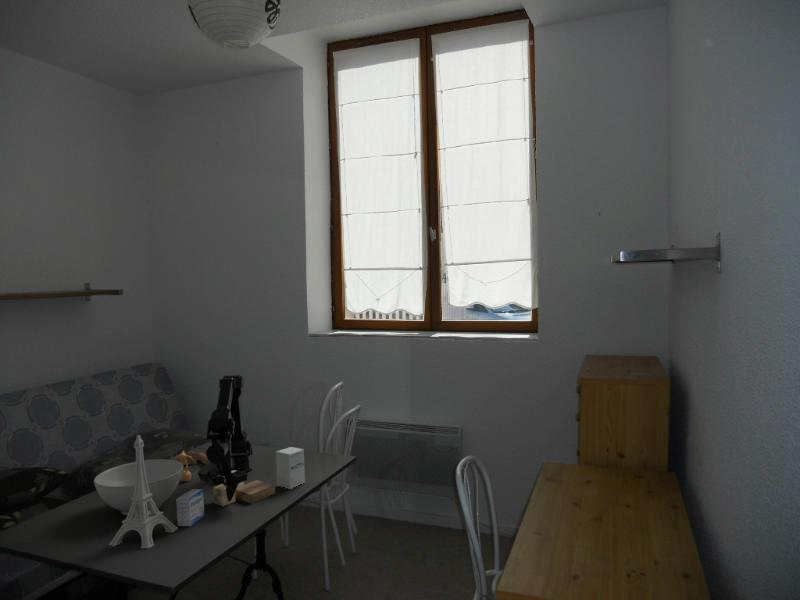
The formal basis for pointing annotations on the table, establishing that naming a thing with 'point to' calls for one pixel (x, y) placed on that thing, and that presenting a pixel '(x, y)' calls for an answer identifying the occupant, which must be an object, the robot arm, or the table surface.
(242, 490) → the walnut block
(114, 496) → the decorative bowl
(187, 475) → the figurine
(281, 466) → the supplement box
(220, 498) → the oak block
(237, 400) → the robot arm
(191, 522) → the medicine box
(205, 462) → the wooden block set
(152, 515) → the eiffel tower
